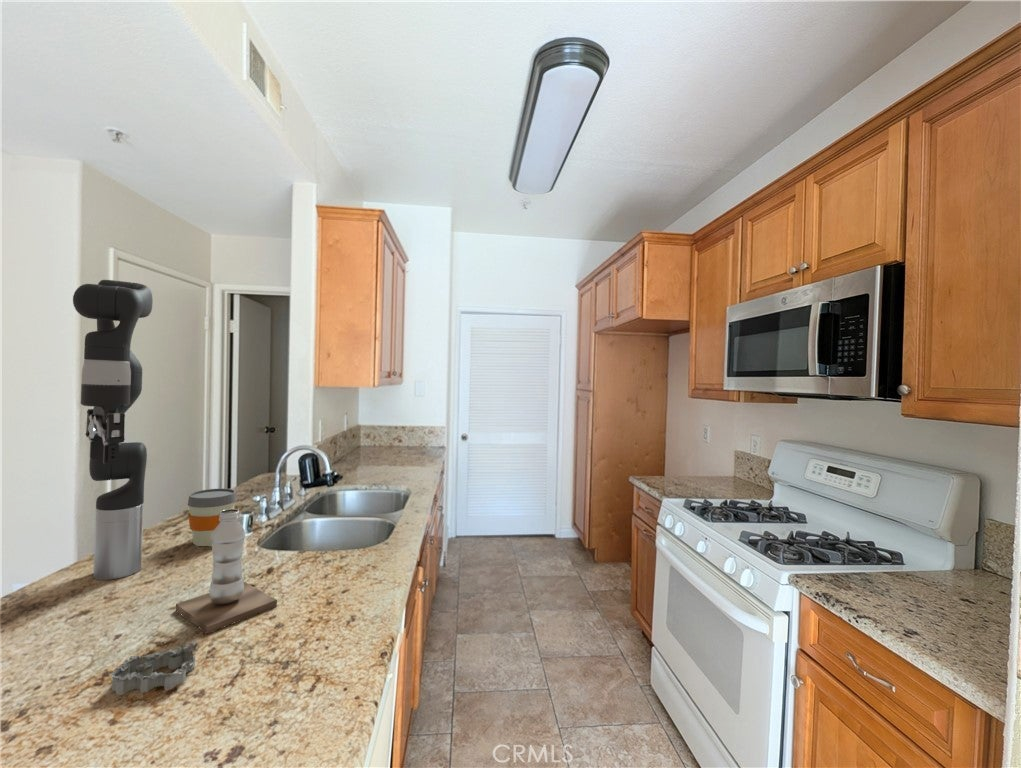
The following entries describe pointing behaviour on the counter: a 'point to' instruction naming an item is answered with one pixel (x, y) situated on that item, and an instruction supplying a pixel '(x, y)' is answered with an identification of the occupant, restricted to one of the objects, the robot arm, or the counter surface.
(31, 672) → the counter surface
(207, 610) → the walnut board
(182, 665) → the metal cookie cutter
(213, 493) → the reusable coffee cup
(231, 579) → the plastic bottle
